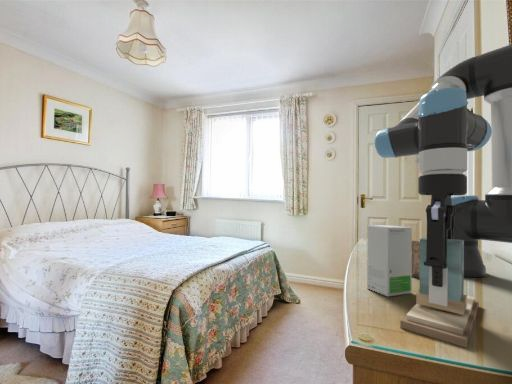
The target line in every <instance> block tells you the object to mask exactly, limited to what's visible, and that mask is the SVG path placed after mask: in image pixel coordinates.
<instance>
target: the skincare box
mask: <svg viewBox="0 0 512 384" xmlns="http://www.w3.org/2000/svg"><path fill="white" fill-rule="evenodd" d="M412 228H413V227H412V226H400V225H391V224H390V225H385V224H383V225H380V224H368V225H367V256H366V257H367V263H366V264H367V269H366V270H367V271H366V272H367V274H366V276H367V277H366V289H367V290H369V289H370V291H371V290H372V292H374V291H375V292H374V293H376V292H377V294H379V293H380V295H382V296H384V297H385V296H386V297H394V296H400V295H408V294H412V293H413V292H412V290H413V288H412V287H413V285H412V283H413V282H412V278H413V276H412V241H413V240H412V239H413V238H412V234H413V233H412V232H413V231H412Z"/></svg>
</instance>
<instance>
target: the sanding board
mask: <svg viewBox="0 0 512 384" xmlns="http://www.w3.org/2000/svg"><path fill="white" fill-rule="evenodd" d="M479 307H480V302H479V300H477V299H475V297H473V296H469V295H467V307H466V310H465V312H464V314H463V315H461V314H457V313H453V312H449V311H445V310H441V309H437V308H433V307H429V306H424V305H420V304H416V303H415V304H414V305H413V306H412V307H411V308H410V309H409V311H408V312H406V314H405V315H404V316H403V317H402V318H401V319H400V321H399V322H400V323H399V324H400V326H399V327H400V329H404V330H406V331H409V332H410V331H411V332H413V333H416V334H420V335H422V336H423V335H424V336H427V337H430V338H434V339H435V340H440V341H443V342H447V343H450V344H453V345H457V346H459V347H462V348H466V349H467V348H468V344H469V341H470V337H471V334H472V331H473V328H474V324H475V321H476V317H477V314H478V310H479Z"/></svg>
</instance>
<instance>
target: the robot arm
mask: <svg viewBox="0 0 512 384" xmlns="http://www.w3.org/2000/svg"><path fill="white" fill-rule="evenodd" d="M479 97H483V100H484V102H486V103H488V104H490V123H489V122H488V120H486V119H485V118H484V117H483V116H482V115H480V114H476V113H474V112H473V111H470V110H469V109H468V104H469V101H468V100H470V99H474V98H479ZM490 139H491V140H490ZM489 140H490V141H491V188H490V189H489V190H488V191H487V192H486V193H485V195H484V200H482V199H480V198H479V196H477V195H475V194H473V195H472V194H471V195H467V193H468V176H467V175H466V174H464V173H465V172H467V171H468V152H473V151H477V150H480V149H481V148H483V147H484V146H485V145H487V143H488V142H489ZM374 146H375V150H376V153H377V155H378V156H380V157H381V158H385V159H388V158H389V159H390V158H395V159H396V158H401V157H407V156H409V157H410V156H415V155H418V157H417V158H415V161H414V162H415V163H416V164H418V172H419V173H420V174H422V175H419V176H418V180H417V181H418V182H417V183H418V185H417V190H418V192H417V193H418V194H419V195H421V196H430V198H431V199H430V204H428V205H427V206H426V208H425V212H426V237H427V255H426V262H424V265H425V266H429V303H433V304H438V305H442V306H446V307H447V306H448V268H446V267H447V264H446V258H447V239H457V240H464V277H466V278H483V277H486V276H487V267H486V266H485V264H484V261H483V257H482V254H481V252H480V248H479V241H480V240H481V241H489V242H500V243H509V244H512V44H507V45H506V46H502V47H499V48H496V49H494V50H491V51H490V50H489V51H487V52H485V53H482V54H479V55H475V56H472V57H470V58H468V59H465V60H462V61H461V62H459V63H457V64H455V66H452V67H451V68H450V69H449V70H447V71H446V72H444V73H443V74H442V75H440V76H439V77H438V78H437V79H436V80H435V81H433V83H432V84H431V86H430V87H429V90H428V92H427V93H425V94H423V95H422V96H421V97H420V99H419V101H418V103H417V104H415V106H414V107H413V108H412V109H410V110H409V111H408V113H407V114H406V115H404V116H403V118H402V119H400V120H399V122H398V123H396V125H394V126H392V127H386V128H384V129H381V130H379V131H378V132H377V133H376V134H375V138H374ZM438 258H439V259H438Z"/></svg>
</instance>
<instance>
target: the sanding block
mask: <svg viewBox="0 0 512 384" xmlns="http://www.w3.org/2000/svg"><path fill="white" fill-rule="evenodd" d="M419 242H420V277H419V290H417V292H416V294H415V295H416V296H415V298H416V299H415V304H420V305H424V306H429V307H433V308H437V309H441V310H445V311H449V312H453V313H457V314H461V315H463V314H464V312H465V310H466V307H467V296H468V295H467V294H465V291H464V289H465V288H464V286H465V285H464V282H465V278H464V240H457V239H447V258H446V264H447V267H446V268H448V306H447V307H446V306H442V305H438V304H433V303H429V266H425V265H424V262H426V255H427V236H424V237H422V238H420V239H419ZM438 259H439V258H438Z"/></svg>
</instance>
